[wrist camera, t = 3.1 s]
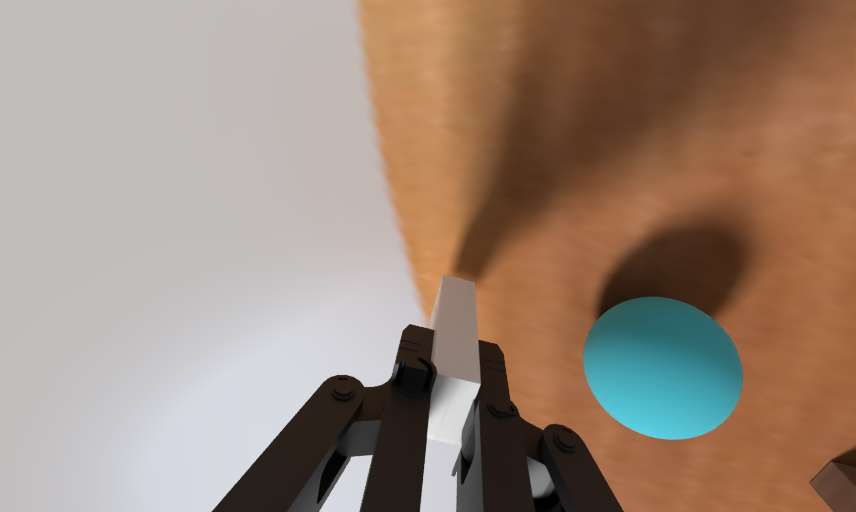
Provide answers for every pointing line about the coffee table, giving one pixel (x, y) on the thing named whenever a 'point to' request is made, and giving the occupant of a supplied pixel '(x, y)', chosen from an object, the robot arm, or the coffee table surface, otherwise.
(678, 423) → the ball
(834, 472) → the bridge
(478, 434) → the robot arm
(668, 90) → the coffee table surface
